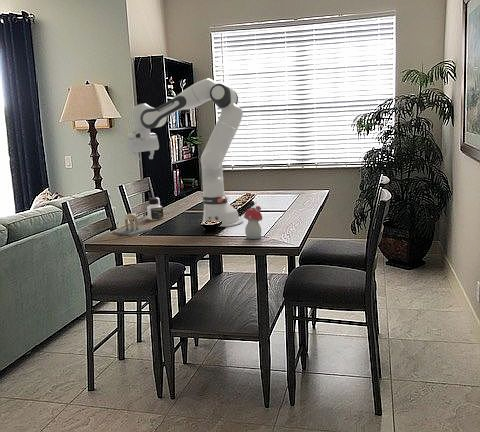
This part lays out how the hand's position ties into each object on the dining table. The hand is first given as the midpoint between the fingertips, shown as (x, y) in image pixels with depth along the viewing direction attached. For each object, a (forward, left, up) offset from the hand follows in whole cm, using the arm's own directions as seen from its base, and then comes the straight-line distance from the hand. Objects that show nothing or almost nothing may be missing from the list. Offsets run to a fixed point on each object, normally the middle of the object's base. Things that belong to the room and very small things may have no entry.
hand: (144, 159), depth 302 cm
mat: (-13, +24, -34) cm, 44 cm away
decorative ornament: (-79, +8, -34) cm, 86 cm away
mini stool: (-13, +24, -33) cm, 43 cm away
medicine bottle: (+2, -6, -34) cm, 35 cm away
